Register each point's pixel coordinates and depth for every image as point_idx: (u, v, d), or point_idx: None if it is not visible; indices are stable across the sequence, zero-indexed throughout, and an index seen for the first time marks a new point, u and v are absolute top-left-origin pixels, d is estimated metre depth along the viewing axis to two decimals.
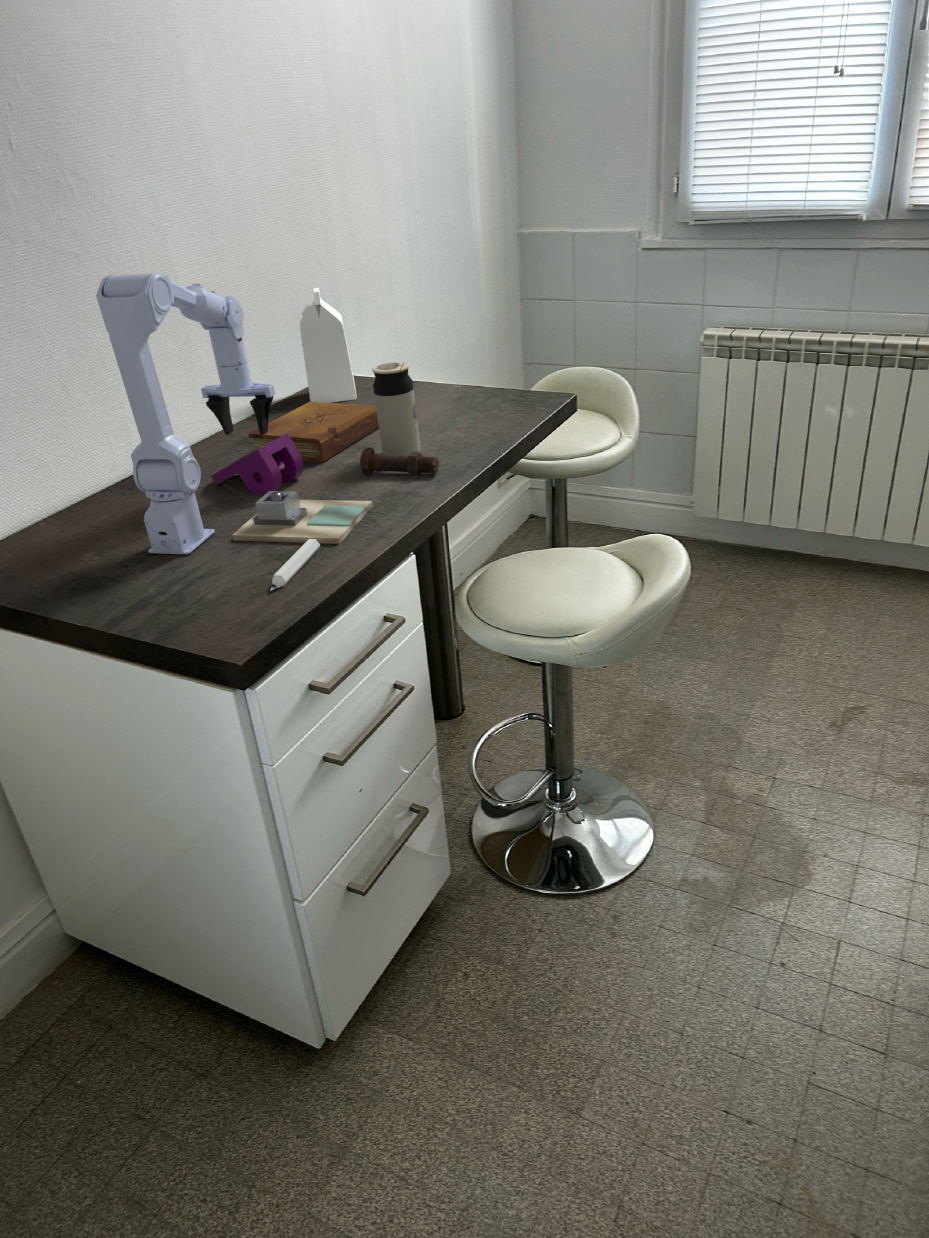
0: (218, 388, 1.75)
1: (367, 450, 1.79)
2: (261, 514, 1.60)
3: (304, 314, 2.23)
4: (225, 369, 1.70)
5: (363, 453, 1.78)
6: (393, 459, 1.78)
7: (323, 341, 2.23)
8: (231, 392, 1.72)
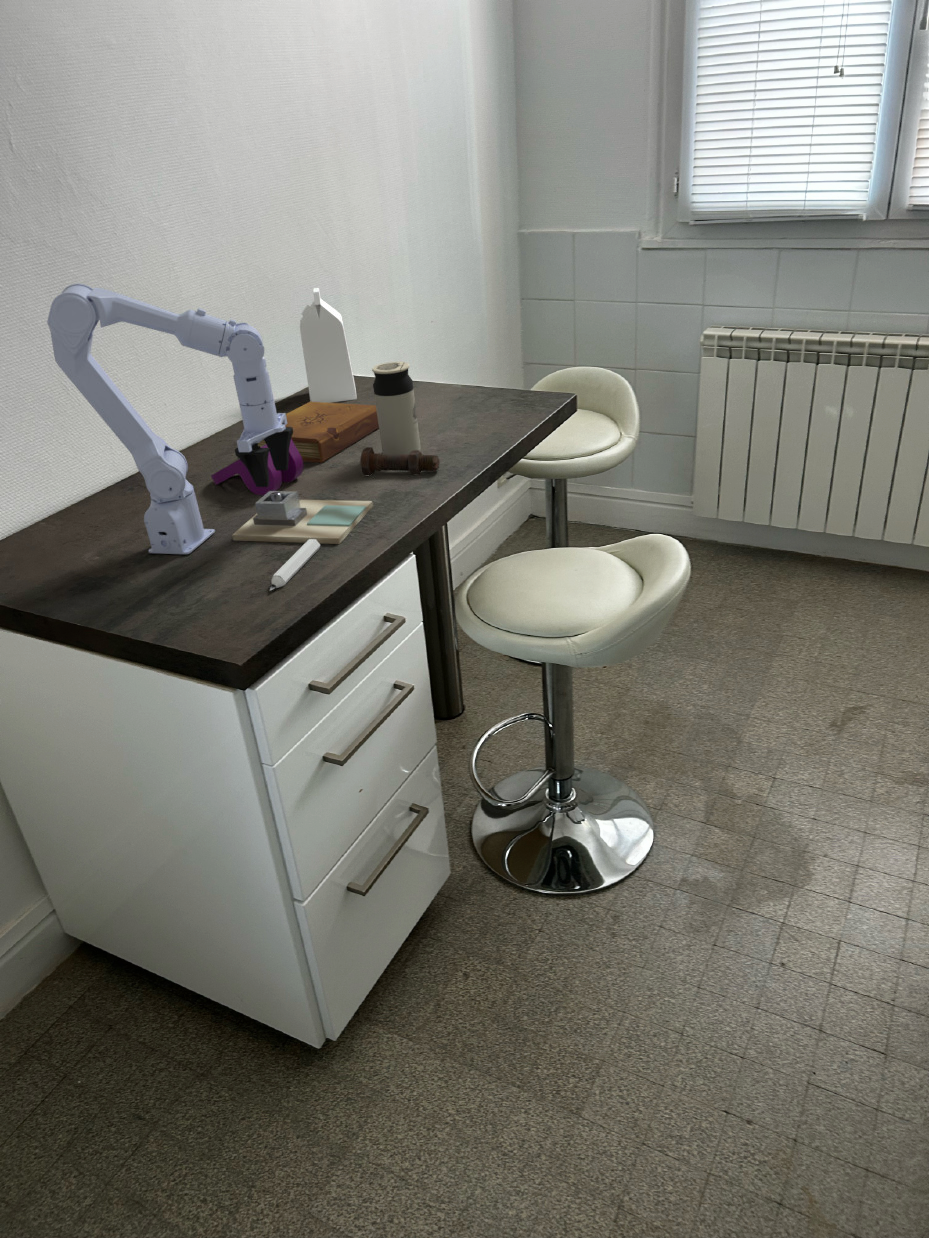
0: None
1: (367, 449, 1.80)
2: (261, 514, 1.60)
3: (304, 314, 2.23)
4: None
5: (363, 453, 1.79)
6: (394, 458, 1.78)
7: (323, 341, 2.23)
8: None
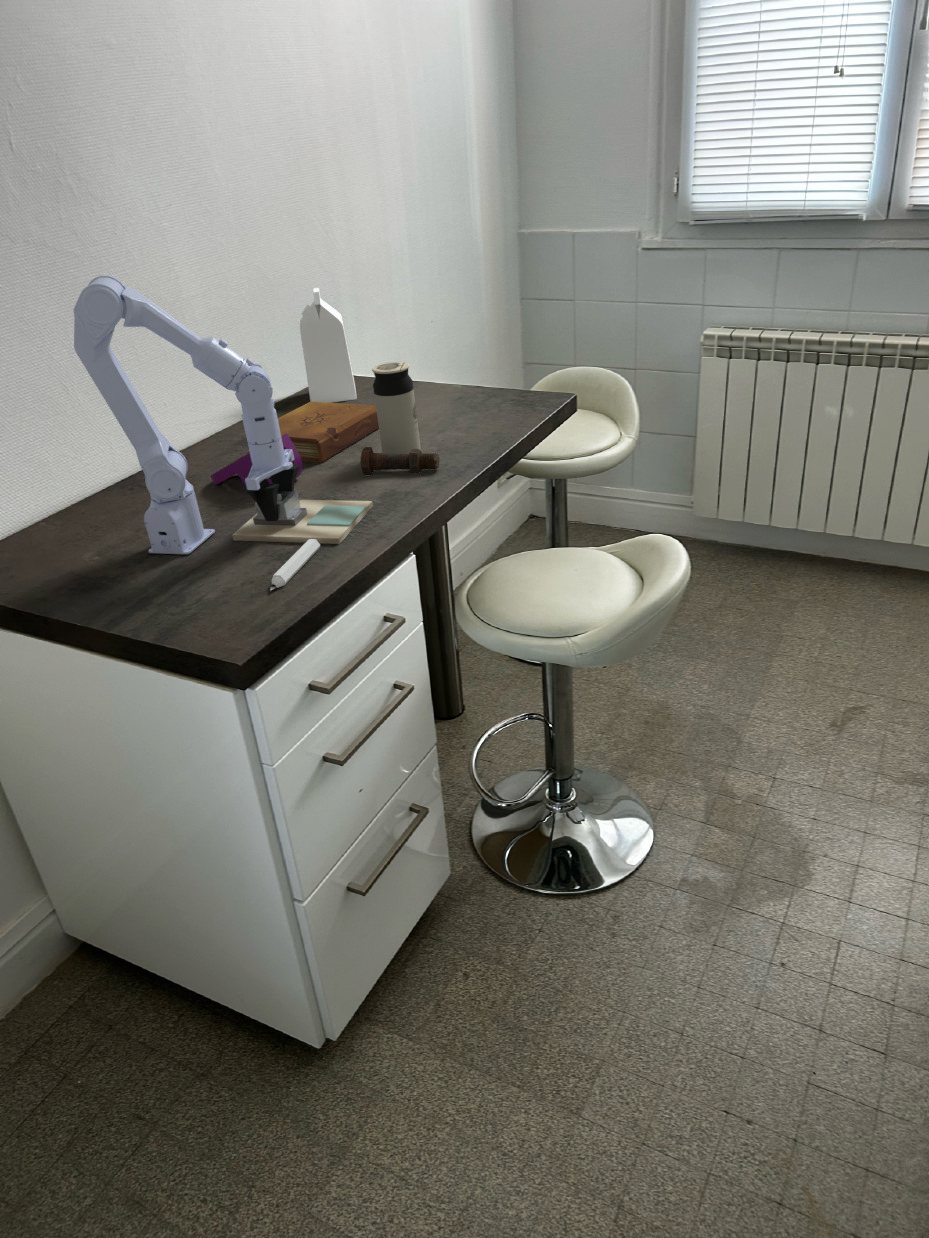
0: None
1: (366, 449, 1.80)
2: (261, 514, 1.60)
3: (304, 314, 2.23)
4: None
5: (363, 452, 1.79)
6: (394, 457, 1.79)
7: (323, 341, 2.23)
8: None
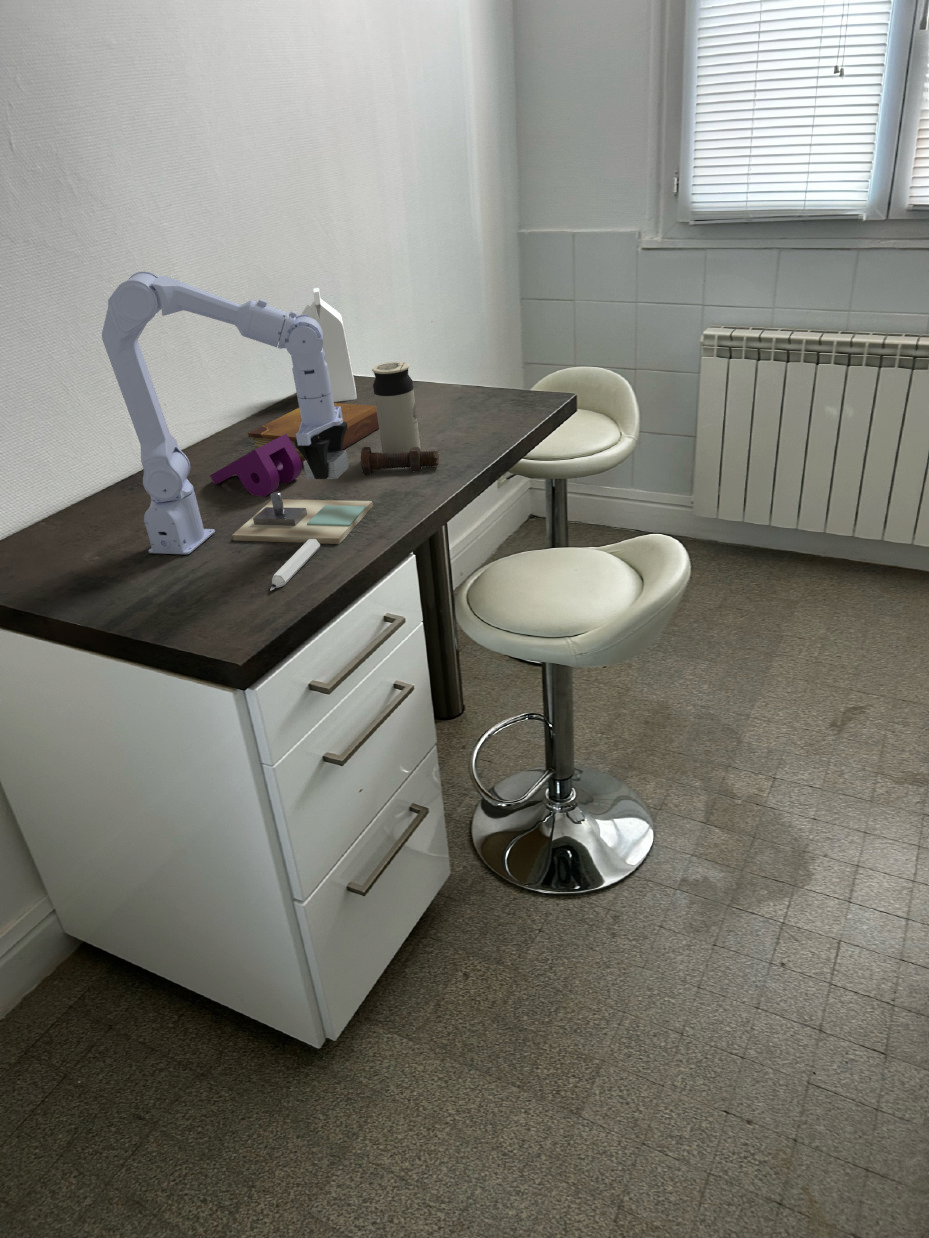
0: None
1: (366, 449, 1.80)
2: (309, 473, 1.55)
3: None
4: None
5: (363, 452, 1.79)
6: (394, 456, 1.80)
7: (323, 341, 2.23)
8: None
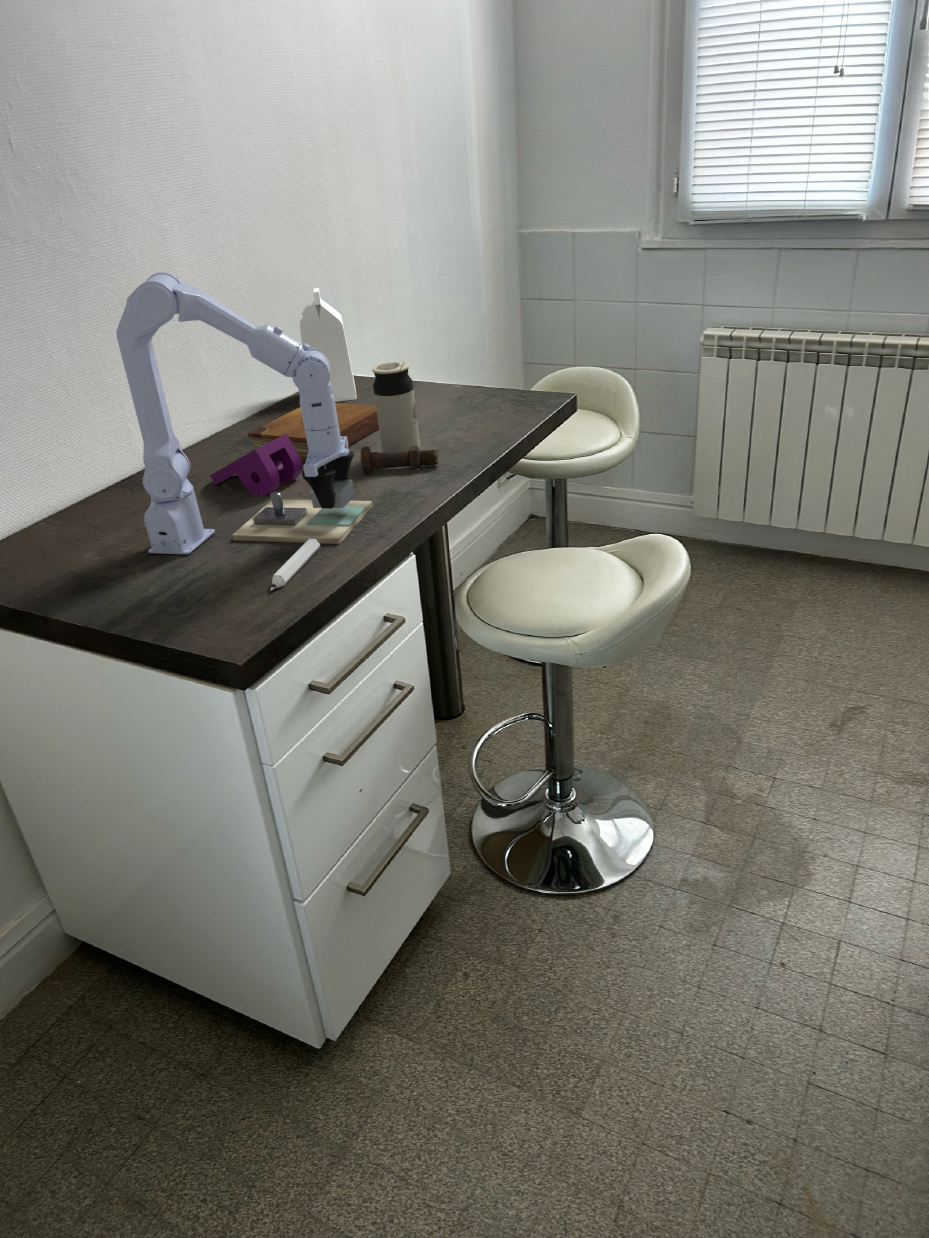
0: None
1: (365, 449, 1.80)
2: (316, 502, 1.58)
3: (304, 314, 2.23)
4: None
5: (363, 452, 1.79)
6: (394, 455, 1.80)
7: (323, 341, 2.23)
8: None
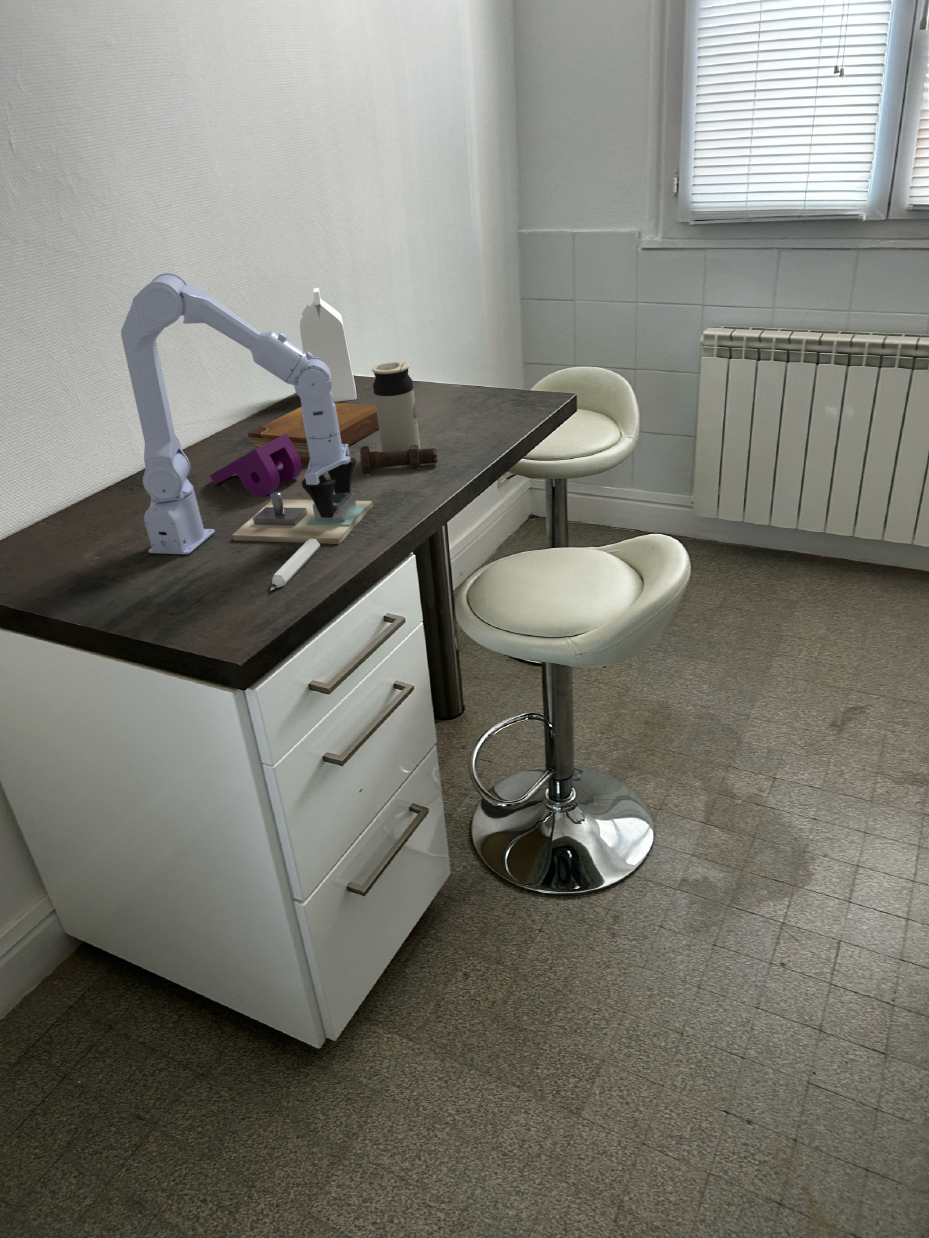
0: None
1: (364, 448, 1.80)
2: (318, 515, 1.59)
3: (304, 314, 2.23)
4: None
5: (363, 451, 1.79)
6: (393, 454, 1.80)
7: (323, 341, 2.23)
8: None
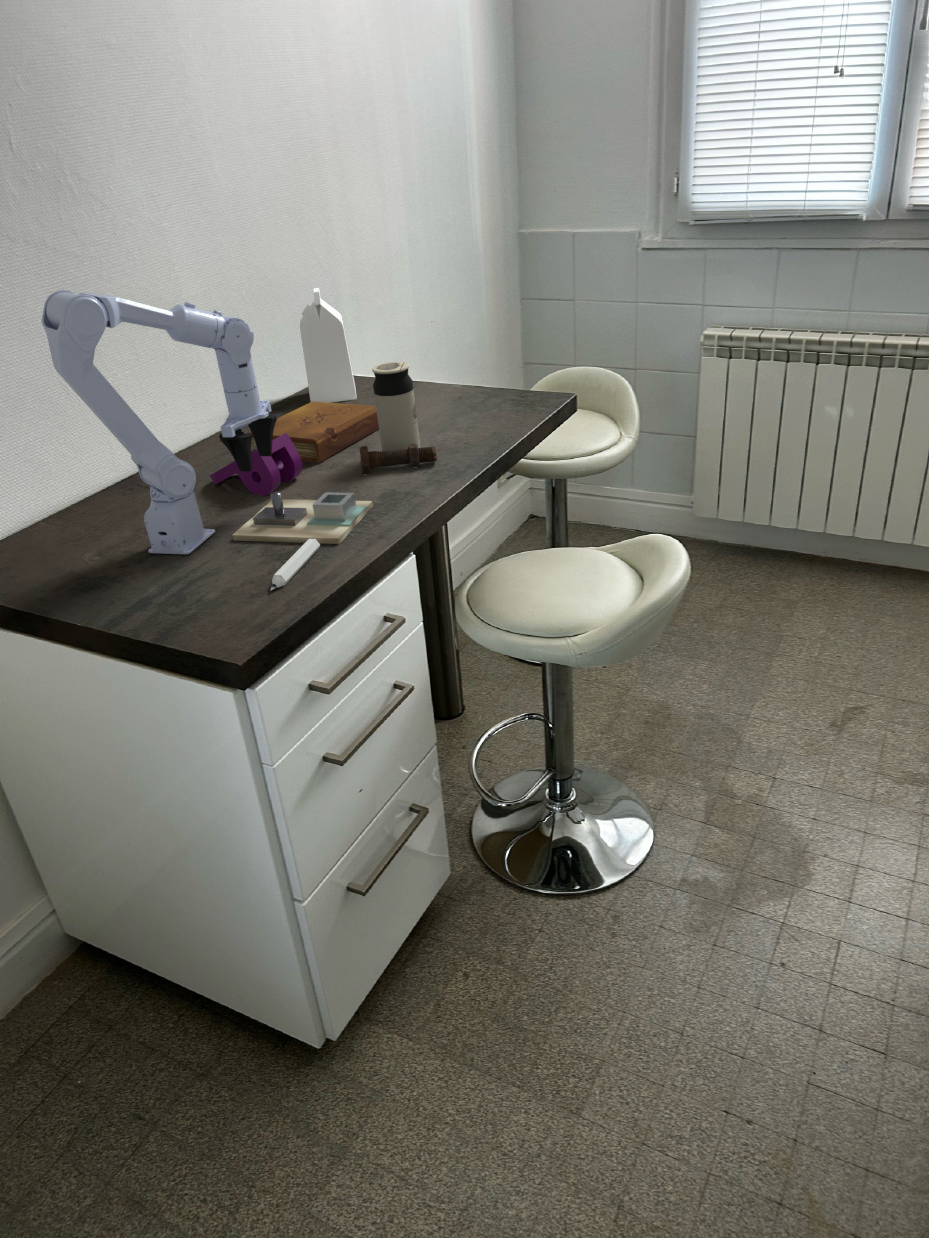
0: None
1: (364, 448, 1.81)
2: (318, 515, 1.59)
3: (304, 314, 2.23)
4: None
5: (362, 451, 1.79)
6: (393, 453, 1.81)
7: (323, 341, 2.23)
8: None
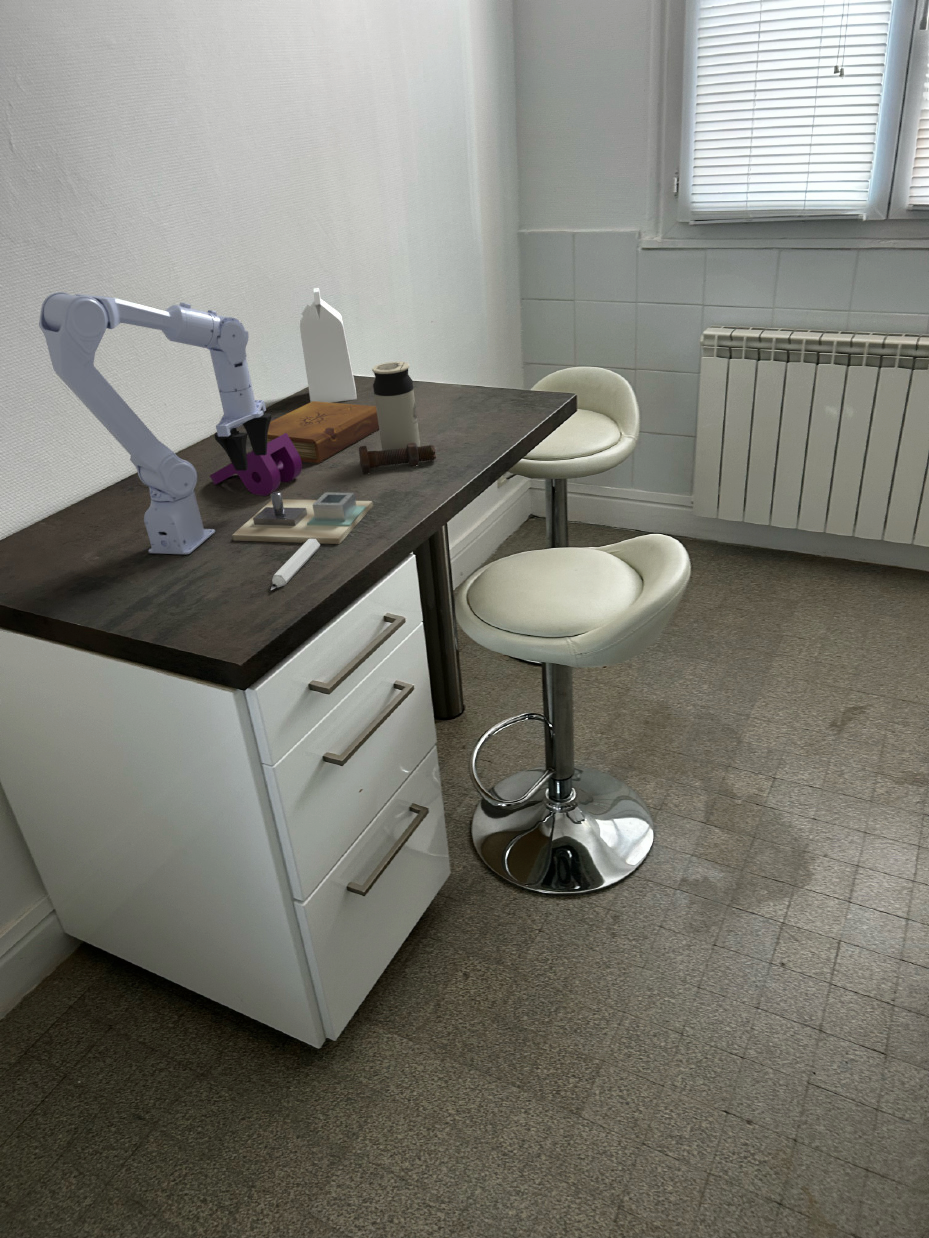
0: None
1: (363, 448, 1.81)
2: (318, 515, 1.59)
3: (304, 314, 2.23)
4: None
5: (362, 451, 1.79)
6: (392, 453, 1.81)
7: (323, 341, 2.23)
8: None
